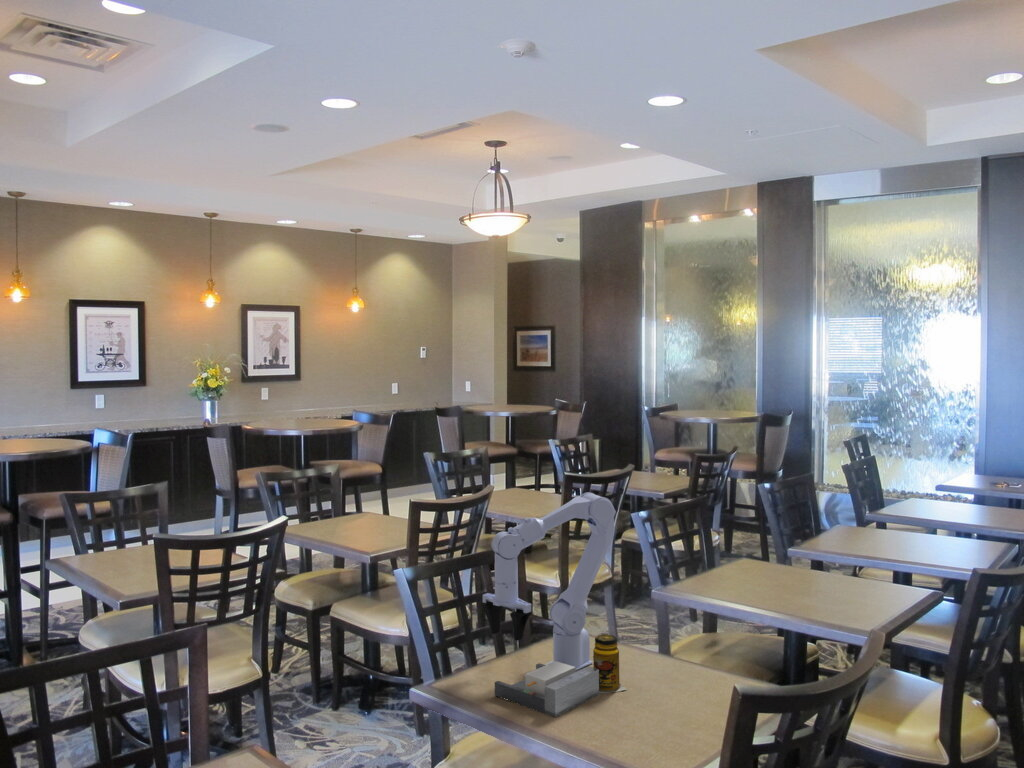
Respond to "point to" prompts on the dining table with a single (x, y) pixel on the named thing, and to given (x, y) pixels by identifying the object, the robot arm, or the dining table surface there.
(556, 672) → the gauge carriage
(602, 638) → the condiment
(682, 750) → the dining table surface
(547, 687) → the gauge frame
